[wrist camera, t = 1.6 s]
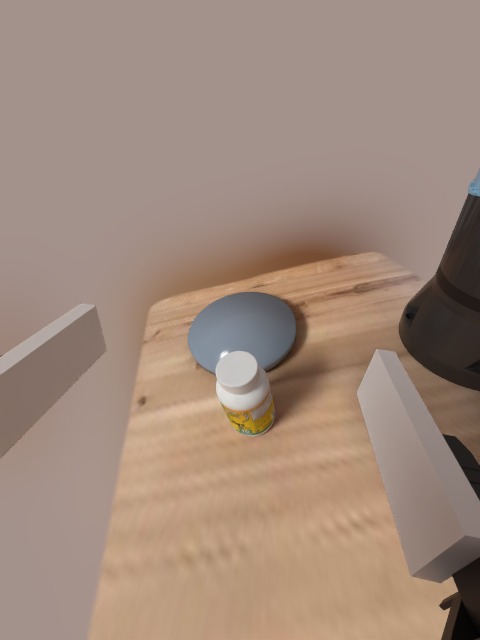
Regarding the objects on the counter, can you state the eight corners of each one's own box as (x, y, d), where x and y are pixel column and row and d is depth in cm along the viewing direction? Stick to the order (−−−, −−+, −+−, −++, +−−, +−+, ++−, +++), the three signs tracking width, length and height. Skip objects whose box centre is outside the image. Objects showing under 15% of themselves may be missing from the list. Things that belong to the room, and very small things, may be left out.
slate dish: (265, 289, 46) (264, 280, 45) (319, 349, 35) (319, 339, 33) (181, 324, 44) (177, 316, 42) (210, 401, 32) (206, 393, 31)
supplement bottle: (285, 415, 29) (278, 367, 23) (249, 449, 27) (230, 407, 21) (254, 385, 33) (241, 336, 26) (221, 413, 31) (197, 367, 24)
